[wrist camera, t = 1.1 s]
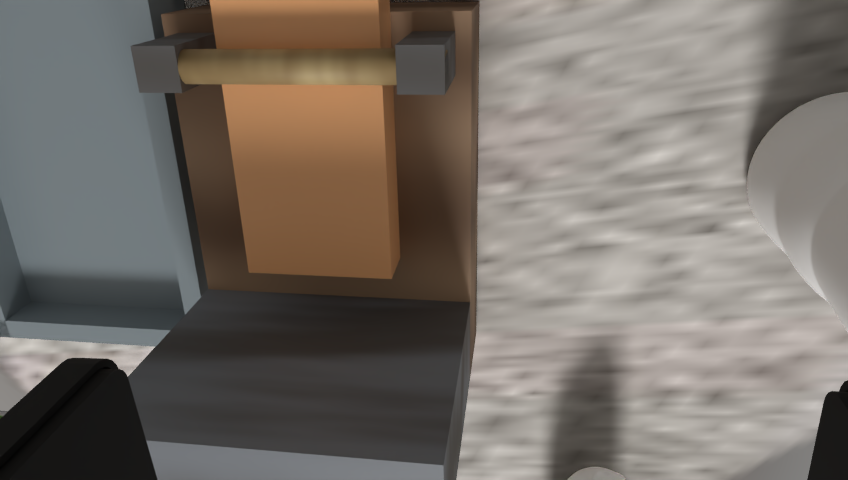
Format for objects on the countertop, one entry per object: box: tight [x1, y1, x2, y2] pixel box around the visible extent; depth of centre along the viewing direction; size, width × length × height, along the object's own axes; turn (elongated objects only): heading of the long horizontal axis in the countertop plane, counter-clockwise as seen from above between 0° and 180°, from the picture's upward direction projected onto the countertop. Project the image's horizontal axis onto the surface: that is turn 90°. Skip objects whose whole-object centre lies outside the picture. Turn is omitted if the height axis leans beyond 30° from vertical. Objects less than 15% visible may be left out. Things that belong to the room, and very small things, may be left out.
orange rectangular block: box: [210, 0, 400, 279], centre depth 25 cm, size 16×6×2 cm, turn 1°
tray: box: [0, 0, 208, 346], centre depth 31 cm, size 22×12×3 cm, turn 1°
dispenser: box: [128, 1, 479, 480], centre depth 26 cm, size 16×12×14 cm
